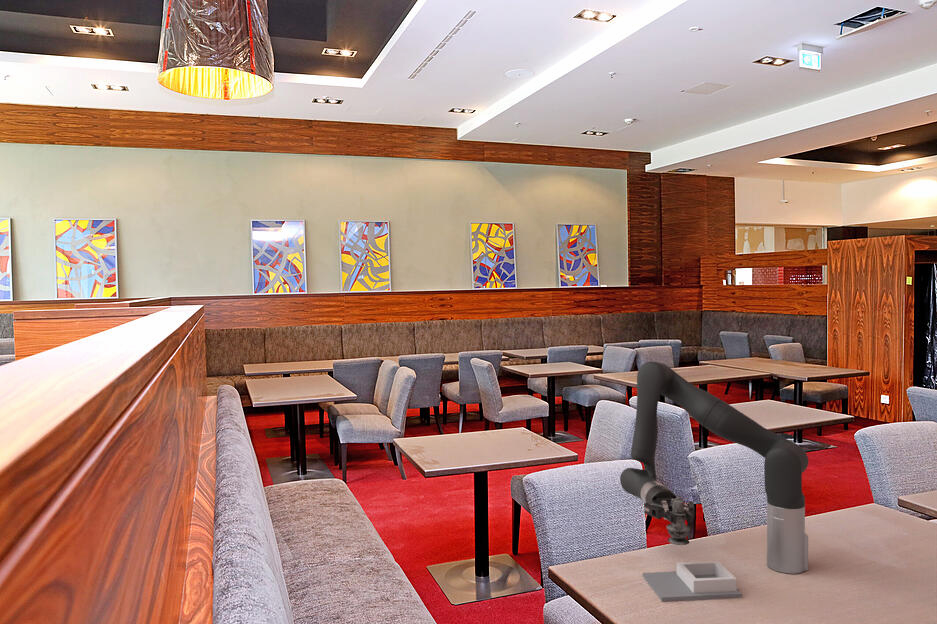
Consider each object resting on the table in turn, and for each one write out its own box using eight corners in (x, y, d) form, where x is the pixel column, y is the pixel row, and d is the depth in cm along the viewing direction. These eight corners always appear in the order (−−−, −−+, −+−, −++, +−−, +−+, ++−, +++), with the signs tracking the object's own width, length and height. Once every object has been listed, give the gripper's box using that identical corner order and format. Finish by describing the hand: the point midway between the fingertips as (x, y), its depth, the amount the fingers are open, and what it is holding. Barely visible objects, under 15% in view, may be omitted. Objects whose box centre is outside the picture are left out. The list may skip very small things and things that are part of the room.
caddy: (716, 573, 179) (716, 558, 178) (741, 597, 165) (741, 581, 165) (642, 576, 177) (642, 561, 177) (661, 601, 163) (661, 585, 163)
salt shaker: (692, 546, 169) (691, 498, 168) (667, 545, 170) (667, 497, 169) (689, 537, 175) (688, 491, 174) (665, 536, 176) (665, 490, 175)
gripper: (633, 485, 185) (655, 506, 168) (683, 483, 187) (710, 503, 169) (633, 512, 186) (655, 535, 169) (683, 510, 187) (710, 533, 170)
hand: (683, 519), depth 169 cm, fingers closed on salt shaker, 3 cm apart
